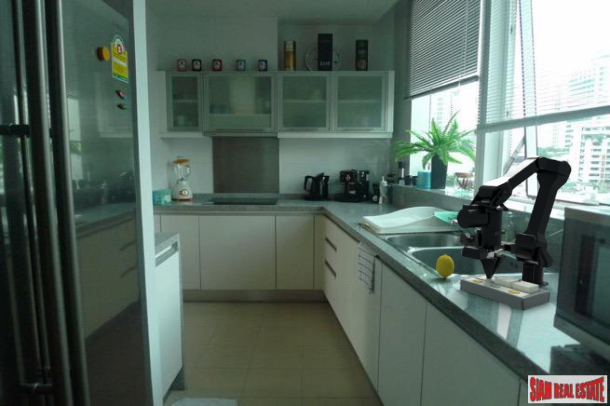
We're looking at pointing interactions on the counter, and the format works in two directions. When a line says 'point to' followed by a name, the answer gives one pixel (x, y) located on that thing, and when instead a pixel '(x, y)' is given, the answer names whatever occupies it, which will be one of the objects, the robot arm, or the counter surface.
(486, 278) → the button
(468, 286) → the board
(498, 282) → the button
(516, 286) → the button
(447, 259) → the lemon
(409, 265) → the counter surface
